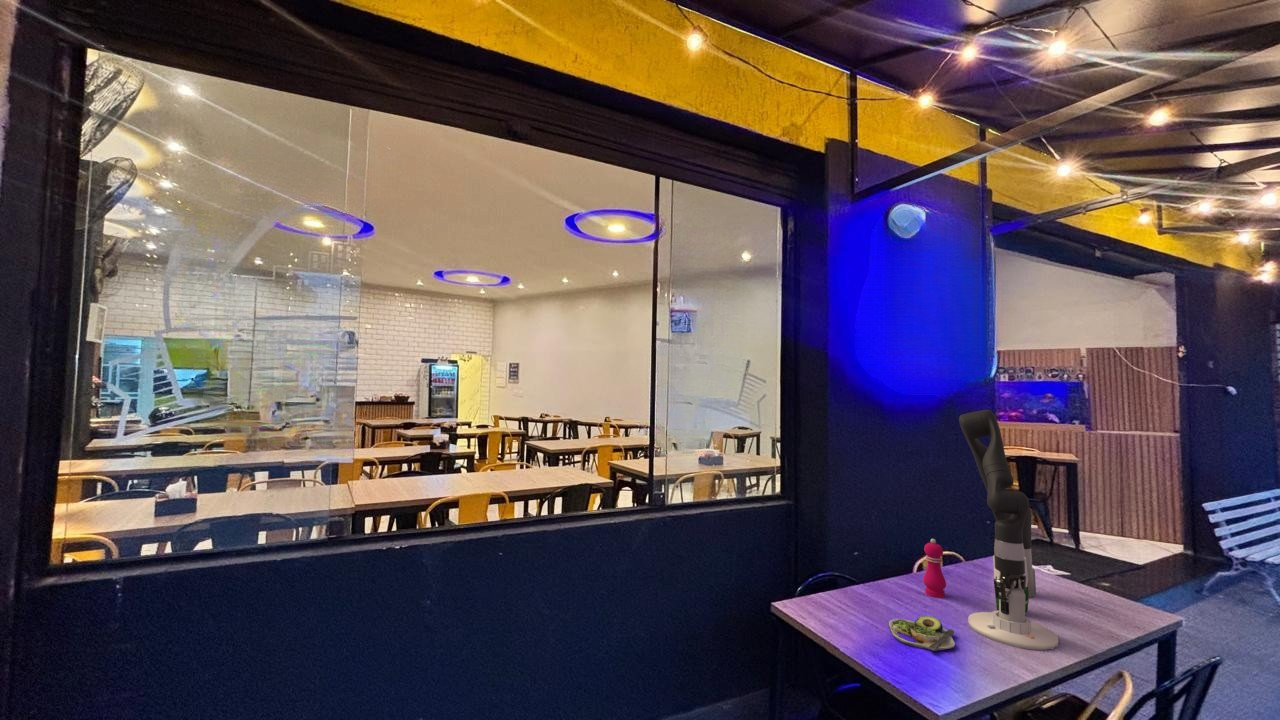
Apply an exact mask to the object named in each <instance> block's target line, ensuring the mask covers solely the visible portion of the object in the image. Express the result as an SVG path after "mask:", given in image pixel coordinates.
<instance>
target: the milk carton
mask: <svg viewBox="0 0 1280 720" xmlns="http://www.w3.org/2000/svg"><path fill="white" fill-rule="evenodd" d="M992 561H993V578H994V579H999V577H1000V571H998V570H997V569H996V568H995V554H993V555H992ZM1023 575H1024V576H1026V587H1025V615H1026V613H1028V609H1029V602H1030V601H1029V600H1030V598H1029V592H1028V572H1027V563H1026V558H1025V574H1023ZM994 579H993V580H994ZM995 606H996V611H999V599H997V598H996V597H995Z"/></svg>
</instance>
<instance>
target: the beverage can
mask: <svg viewBox="0 0 1280 720" xmlns="http://www.w3.org/2000/svg"><path fill="white" fill-rule="evenodd" d="M1005 590H1006V591H1009V590H1010V589H1007V588H1005ZM999 593H1000V592H999ZM1006 596H1007V593H1006ZM1009 600H1010V601H1009V615H1007V614H1004V613H1002V612H1001V600H1000V599H999V610H998V611H999V617H1000V618H1002V619H1005V620H1008V621H1012V622H1018V623H1020V622H1025V617H1026V614H1025V593H1024V590H1023V589H1022V588H1017V589H1016V588H1014V590H1012V593H1011V594H1009Z"/></svg>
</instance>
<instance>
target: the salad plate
mask: <svg viewBox="0 0 1280 720" xmlns="http://www.w3.org/2000/svg"><path fill="white" fill-rule="evenodd" d="M888 628H889V630H890V632H891V634H892V635H893V637H894V638H895V639H897V640H898V641H899V642H901V643H903V644H905V645H907V646H910V647H913V648H917V647H918V649H925V650H930V651H934V652H935V651H943V650H948V649H953V648H955V645H956V644H955V641H954V639H953V637H952V636H953V635H954V634H955V631H954V630H953V629H946V628H945V627H943V624H942V621H941V620H940V619H938V618H937V617H935V616H931V615H930V616H929V615H921V616H919V617H917V618H916V620H915V621H914V620H909V619H904V618H894V619H891V620H889V621H888ZM897 632H899V633H898V634H897ZM900 633H901V635H903V634H904V636H906V635H907V637H910V638H912V637H913V638H914V639H913V638H912V639H913V640H914V641H915V642H913V641H910V640H907V639H905V638H903V637H902V636H901V635H899V634H900ZM916 641H917V642H916Z"/></svg>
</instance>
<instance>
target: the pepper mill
mask: <svg viewBox="0 0 1280 720" xmlns="http://www.w3.org/2000/svg"><path fill="white" fill-rule="evenodd" d="M923 549H924V553H925V560H926V561H927V568H926V571H925V573H924V575H923V578H922V579H923V584H924V585H925V586H926V587H924V593H925V594H926V595H927V596H929V597H932V598H937V599H939V598H940V599H943V597H944V598H945V597H946V591H945V590H944V589H945V588H946V587H947V582H946V581H947V580H946V577H945V576H944V574H943V572H942V568H941V563H942V561H943V560H942V556H943V554H944V551H943V550H944V549H943V547H942V546H941V545H940V544H938V543H937V541H936V539H935V538H931V539H930V542H927V543H926V544H925V545H924V548H923Z"/></svg>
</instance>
